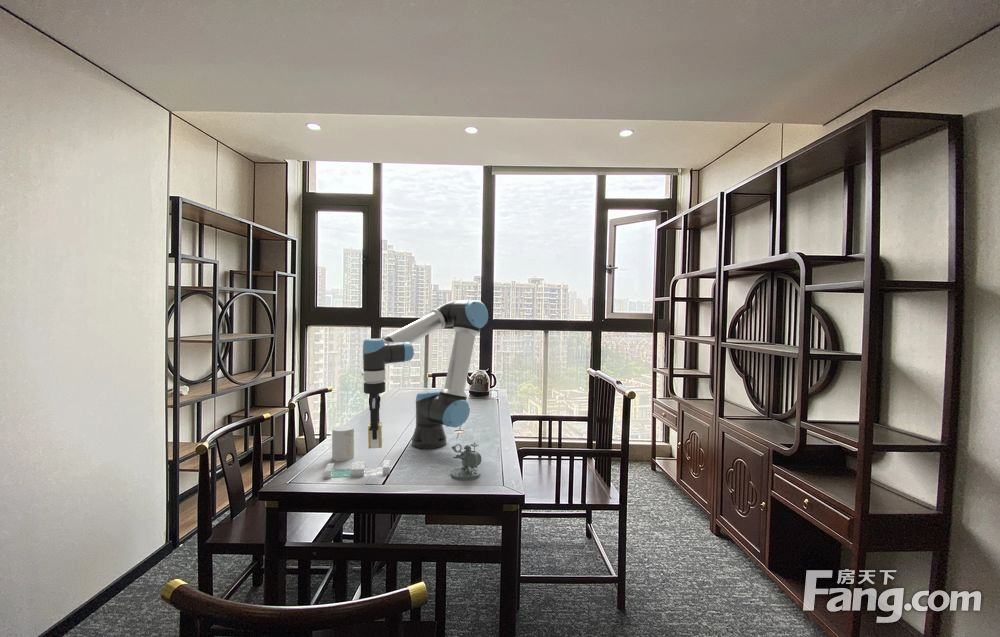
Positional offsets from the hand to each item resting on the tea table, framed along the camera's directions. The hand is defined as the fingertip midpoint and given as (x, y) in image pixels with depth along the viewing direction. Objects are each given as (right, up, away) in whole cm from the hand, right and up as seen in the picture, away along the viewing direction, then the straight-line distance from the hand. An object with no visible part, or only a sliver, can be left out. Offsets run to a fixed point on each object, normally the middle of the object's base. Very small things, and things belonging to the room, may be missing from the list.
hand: (375, 445), depth 164 cm
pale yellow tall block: (0, 0, 0) cm, 0 cm away
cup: (-17, -9, +14) cm, 24 cm away
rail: (-6, -10, -1) cm, 11 cm away
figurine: (+33, -10, -2) cm, 35 cm away
